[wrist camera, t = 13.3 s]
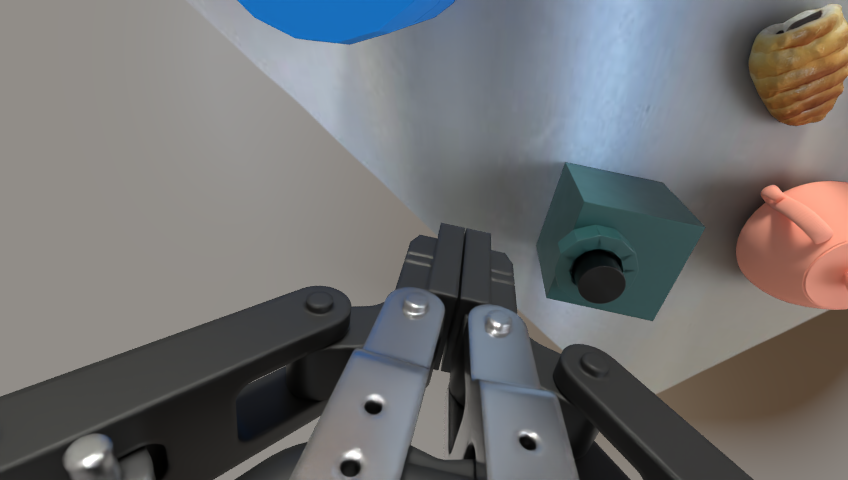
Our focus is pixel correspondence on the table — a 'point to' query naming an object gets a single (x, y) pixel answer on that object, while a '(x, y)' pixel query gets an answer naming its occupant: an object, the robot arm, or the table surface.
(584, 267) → the black knob
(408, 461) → the robot arm
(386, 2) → the thermos
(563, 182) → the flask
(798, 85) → the pastry
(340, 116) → the table surface
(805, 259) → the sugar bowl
